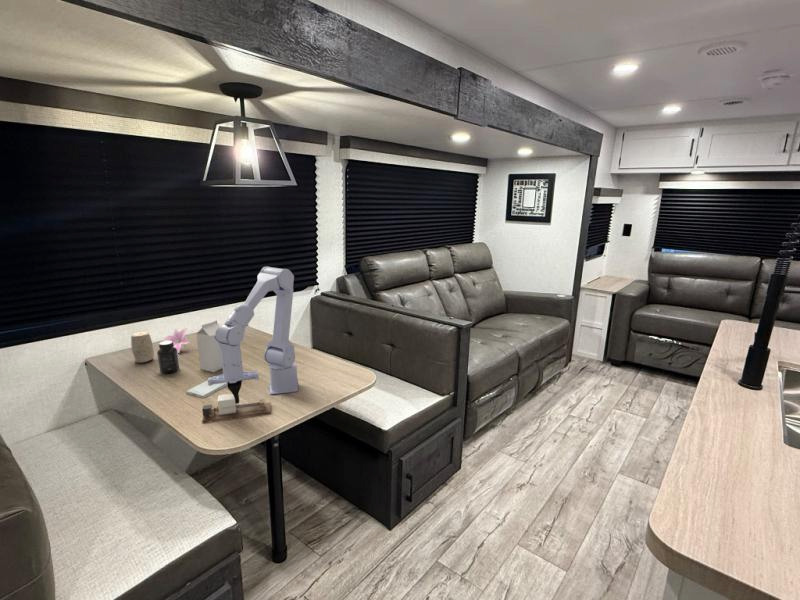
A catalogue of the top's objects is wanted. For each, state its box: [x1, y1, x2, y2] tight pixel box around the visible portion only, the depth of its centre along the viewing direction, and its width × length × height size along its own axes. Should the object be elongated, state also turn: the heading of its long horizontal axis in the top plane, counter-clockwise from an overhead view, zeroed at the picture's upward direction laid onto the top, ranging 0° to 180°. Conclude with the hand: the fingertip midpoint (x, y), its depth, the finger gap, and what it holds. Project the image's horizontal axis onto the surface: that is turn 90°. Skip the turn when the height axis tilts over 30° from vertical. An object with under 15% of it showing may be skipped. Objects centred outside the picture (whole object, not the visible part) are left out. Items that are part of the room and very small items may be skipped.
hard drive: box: [185, 379, 228, 399], centre depth 149 cm, size 2×8×12 cm
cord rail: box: [201, 399, 272, 423], centre depth 132 cm, size 20×6×4 cm, turn 108°
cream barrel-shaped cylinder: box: [130, 331, 155, 364], centre depth 170 cm, size 6×8×12 cm
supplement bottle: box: [156, 340, 180, 375], centre depth 161 cm, size 7×7×12 cm
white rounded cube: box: [217, 393, 237, 415], centre depth 131 cm, size 5×4×5 cm
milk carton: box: [196, 319, 223, 373], centre depth 164 cm, size 7×7×19 cm
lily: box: [162, 327, 190, 354], centre depth 183 cm, size 12×12×10 cm
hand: (236, 402), depth 132 cm, fingers closed, pressing on white rounded cube
